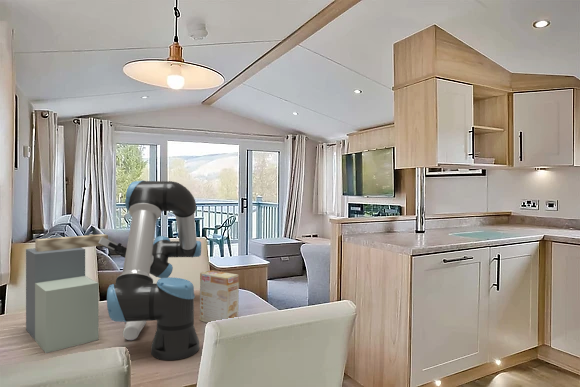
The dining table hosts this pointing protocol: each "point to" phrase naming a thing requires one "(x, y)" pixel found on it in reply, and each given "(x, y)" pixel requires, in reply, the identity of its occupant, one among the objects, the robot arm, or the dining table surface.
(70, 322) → the two-tone stepped block
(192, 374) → the dining table surface
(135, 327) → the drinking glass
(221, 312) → the coffeecake box
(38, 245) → the wooden bar
